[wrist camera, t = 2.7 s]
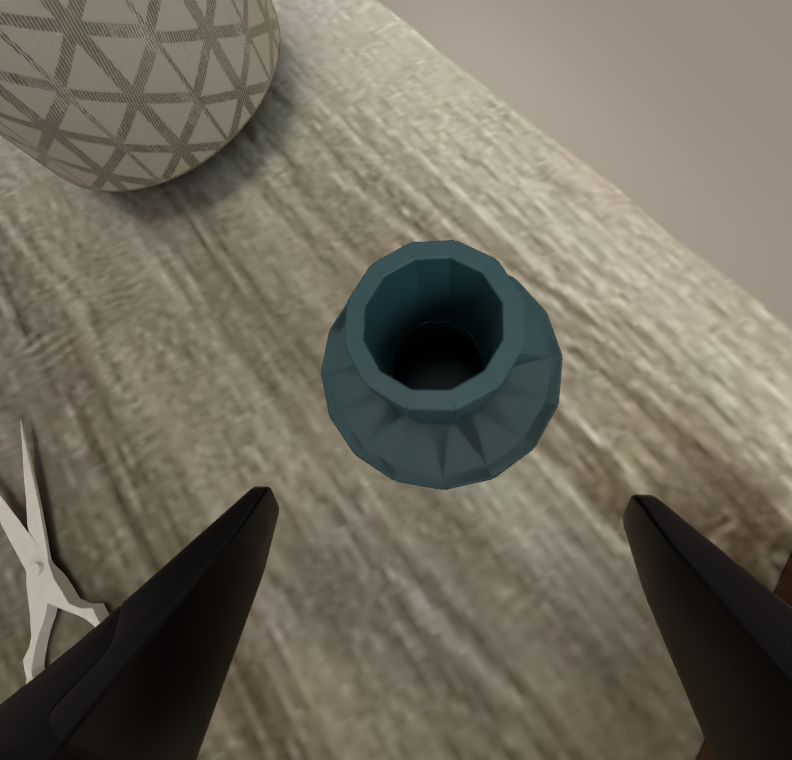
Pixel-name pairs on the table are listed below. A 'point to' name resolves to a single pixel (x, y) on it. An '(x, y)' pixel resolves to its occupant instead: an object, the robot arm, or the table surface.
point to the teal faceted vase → (441, 367)
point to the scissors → (41, 572)
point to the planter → (131, 83)
